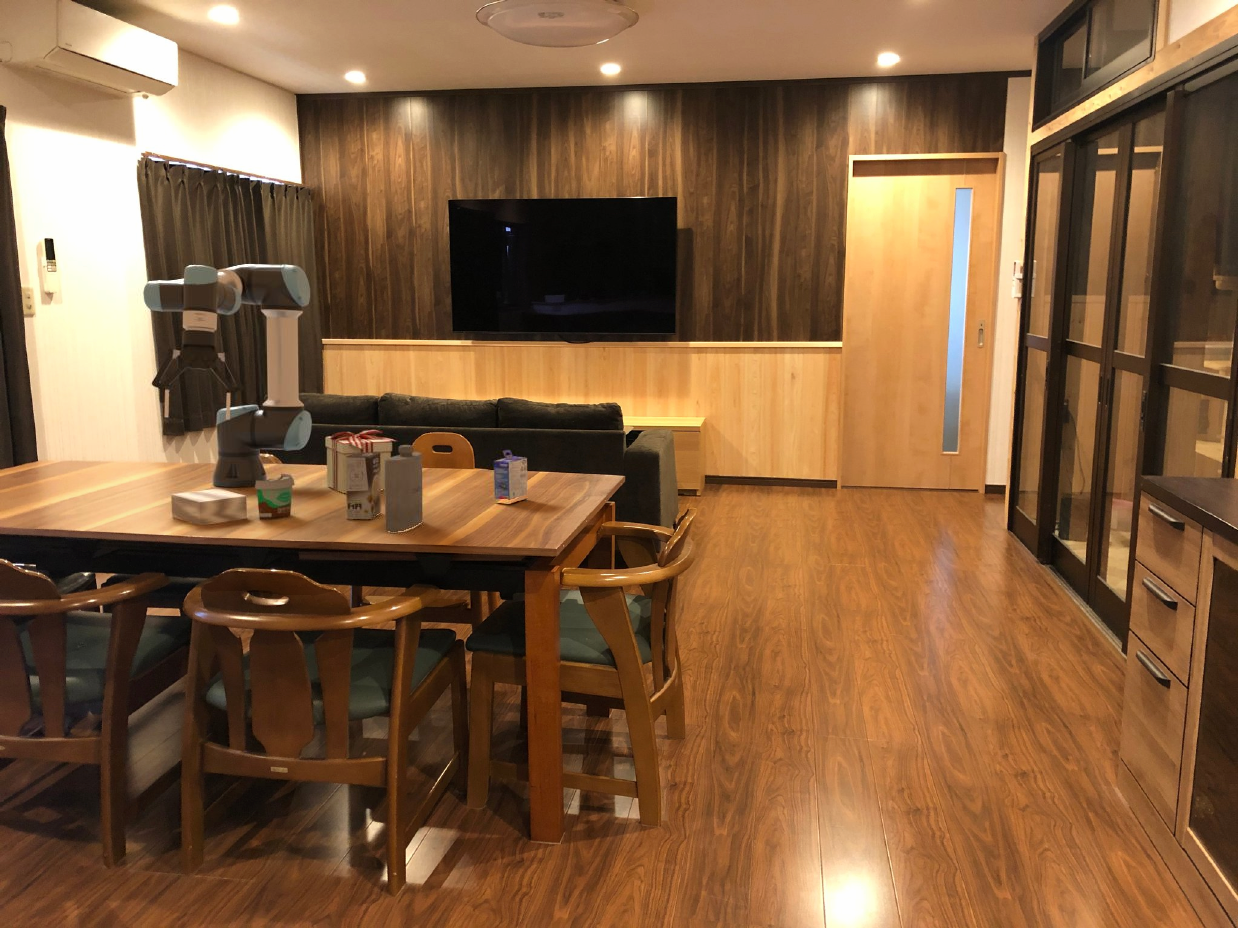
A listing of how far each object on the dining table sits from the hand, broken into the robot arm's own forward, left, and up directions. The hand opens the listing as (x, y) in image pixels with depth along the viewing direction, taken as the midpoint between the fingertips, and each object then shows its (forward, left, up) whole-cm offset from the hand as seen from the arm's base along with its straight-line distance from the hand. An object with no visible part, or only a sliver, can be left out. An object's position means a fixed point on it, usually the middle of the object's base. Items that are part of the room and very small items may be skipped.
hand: (197, 418), depth 230 cm
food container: (-16, +9, -25) cm, 31 cm away
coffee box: (-31, +23, -25) cm, 46 cm away
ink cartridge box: (-72, +34, -25) cm, 84 cm away
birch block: (-3, -2, -25) cm, 26 cm away
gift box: (-54, -10, -25) cm, 60 cm away
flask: (-31, +40, -25) cm, 57 cm away
